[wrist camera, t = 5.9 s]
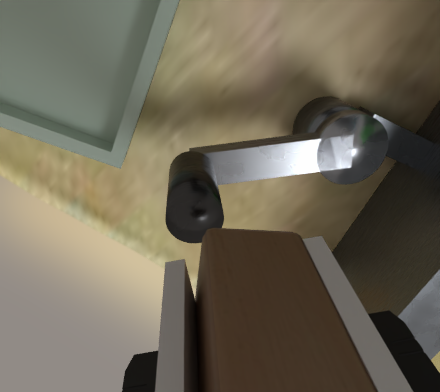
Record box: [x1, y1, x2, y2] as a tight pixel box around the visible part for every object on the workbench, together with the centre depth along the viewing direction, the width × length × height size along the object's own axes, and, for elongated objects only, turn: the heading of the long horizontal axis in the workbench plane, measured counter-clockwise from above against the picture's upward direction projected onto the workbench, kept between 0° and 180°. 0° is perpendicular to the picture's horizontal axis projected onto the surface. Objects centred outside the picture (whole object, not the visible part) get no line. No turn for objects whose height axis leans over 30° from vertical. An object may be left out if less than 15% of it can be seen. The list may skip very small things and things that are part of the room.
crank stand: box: [293, 96, 440, 360], centre depth 27 cm, size 23×16×10 cm
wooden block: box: [195, 228, 377, 392], centre depth 11 cm, size 4×4×8 cm
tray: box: [0, 0, 180, 169], centre depth 22 cm, size 14×14×2 cm
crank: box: [166, 110, 389, 243], centre depth 21 cm, size 15×5×7 cm, turn 96°
